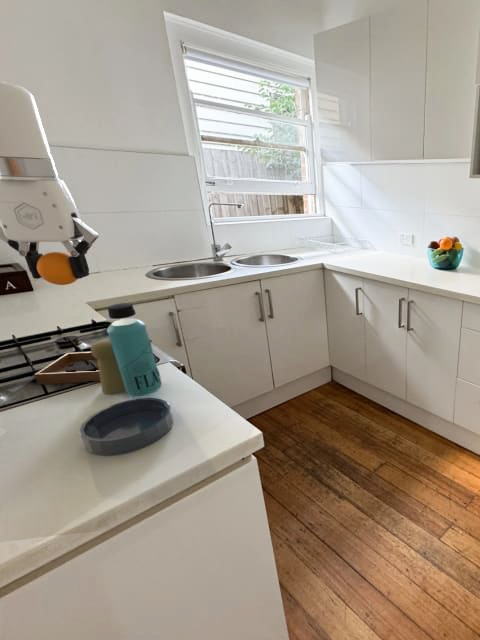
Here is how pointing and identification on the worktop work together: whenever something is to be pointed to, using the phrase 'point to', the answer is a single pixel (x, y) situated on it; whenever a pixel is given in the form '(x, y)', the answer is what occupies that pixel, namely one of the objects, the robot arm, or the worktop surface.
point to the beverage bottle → (133, 351)
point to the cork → (108, 367)
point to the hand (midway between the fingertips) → (62, 276)
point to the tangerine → (56, 268)
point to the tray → (58, 374)
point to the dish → (127, 426)
